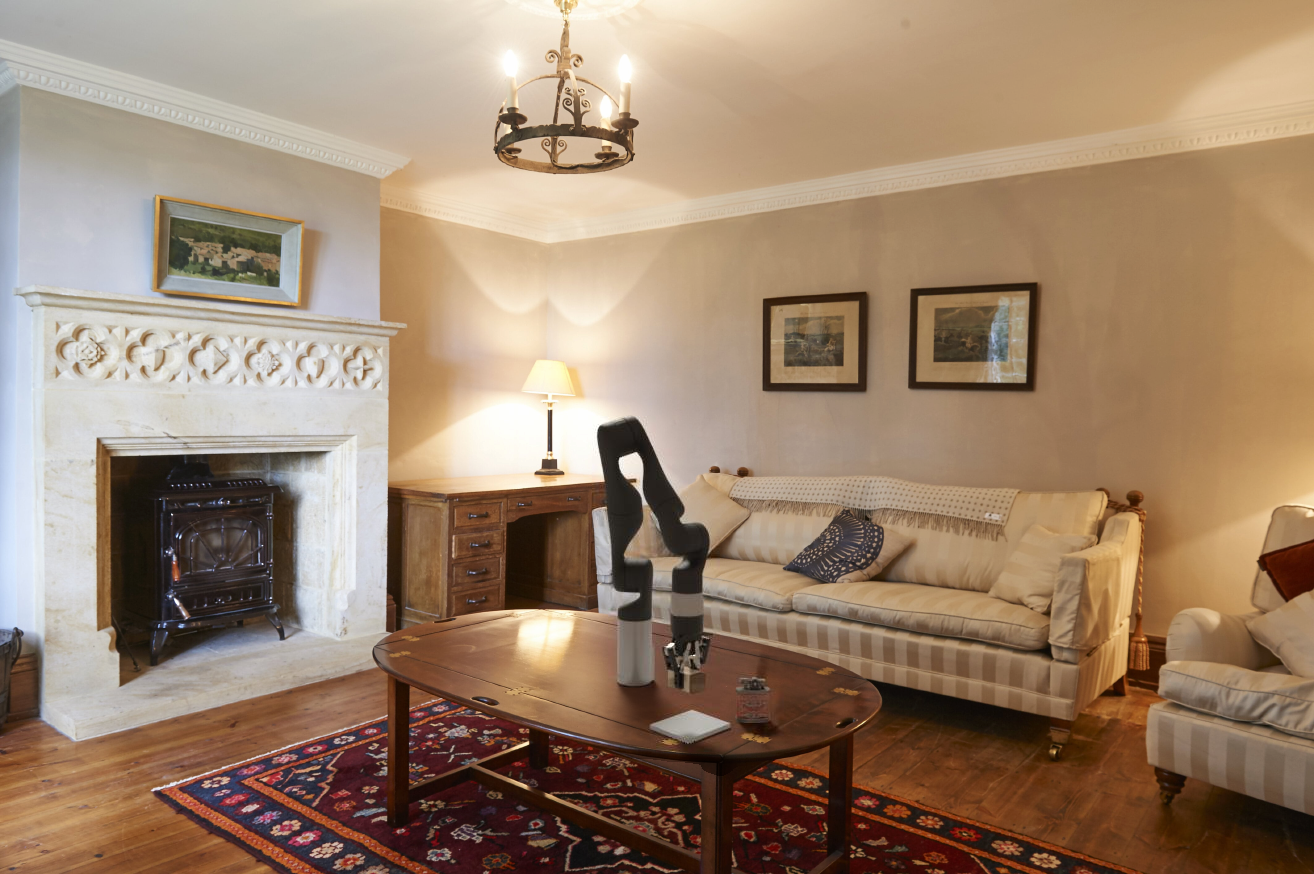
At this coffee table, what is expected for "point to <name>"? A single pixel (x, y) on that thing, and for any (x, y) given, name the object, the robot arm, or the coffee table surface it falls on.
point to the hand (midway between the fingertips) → (686, 685)
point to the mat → (690, 726)
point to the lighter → (752, 701)
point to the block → (690, 680)
